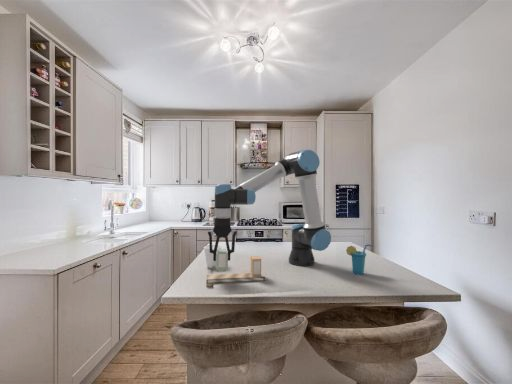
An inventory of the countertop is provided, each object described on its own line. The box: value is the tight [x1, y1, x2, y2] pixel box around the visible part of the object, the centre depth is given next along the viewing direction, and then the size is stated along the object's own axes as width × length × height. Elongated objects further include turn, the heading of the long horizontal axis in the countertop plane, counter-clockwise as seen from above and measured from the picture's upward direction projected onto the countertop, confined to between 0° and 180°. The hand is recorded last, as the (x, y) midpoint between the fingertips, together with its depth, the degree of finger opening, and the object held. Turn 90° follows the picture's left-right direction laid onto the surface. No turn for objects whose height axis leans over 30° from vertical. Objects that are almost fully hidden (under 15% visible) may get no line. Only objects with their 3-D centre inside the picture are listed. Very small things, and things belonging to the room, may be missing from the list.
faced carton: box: [250, 255, 262, 277], centre depth 125 cm, size 4×6×9 cm, turn 10°
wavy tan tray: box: [205, 272, 266, 287], centre depth 123 cm, size 26×12×3 cm, turn 100°
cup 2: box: [345, 244, 374, 276], centre depth 136 cm, size 14×8×15 cm, turn 98°
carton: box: [216, 248, 228, 273], centre depth 122 cm, size 4×6×9 cm, turn 10°
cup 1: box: [203, 244, 223, 269], centre depth 145 cm, size 10×10×11 cm
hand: (221, 267), depth 122 cm, fingers closed on carton, 4 cm apart
